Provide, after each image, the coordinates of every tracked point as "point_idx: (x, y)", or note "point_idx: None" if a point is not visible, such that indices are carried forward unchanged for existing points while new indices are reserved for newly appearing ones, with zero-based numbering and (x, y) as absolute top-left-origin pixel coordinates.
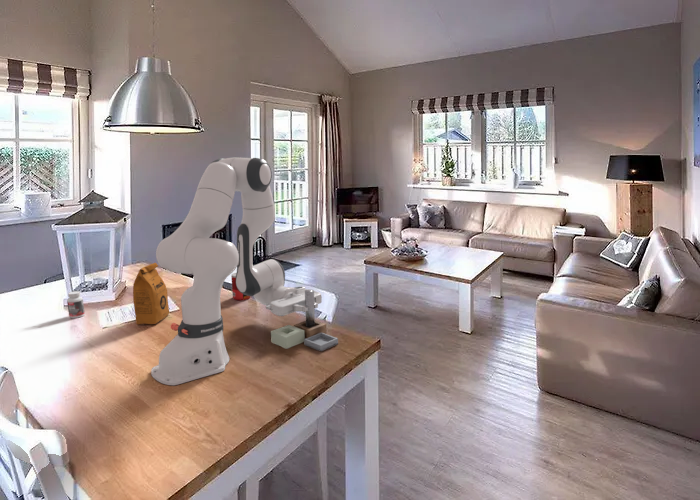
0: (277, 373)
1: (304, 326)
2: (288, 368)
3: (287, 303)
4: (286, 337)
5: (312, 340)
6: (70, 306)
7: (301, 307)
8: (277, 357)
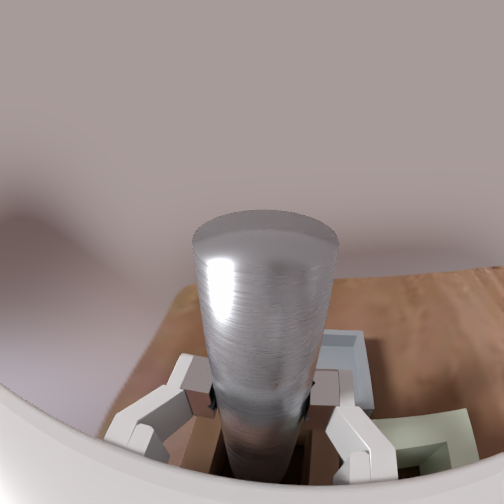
0: (501, 332)
1: (312, 459)
2: (477, 334)
3: (471, 494)
4: (463, 409)
5: None
6: None
7: (354, 411)
8: (486, 398)
